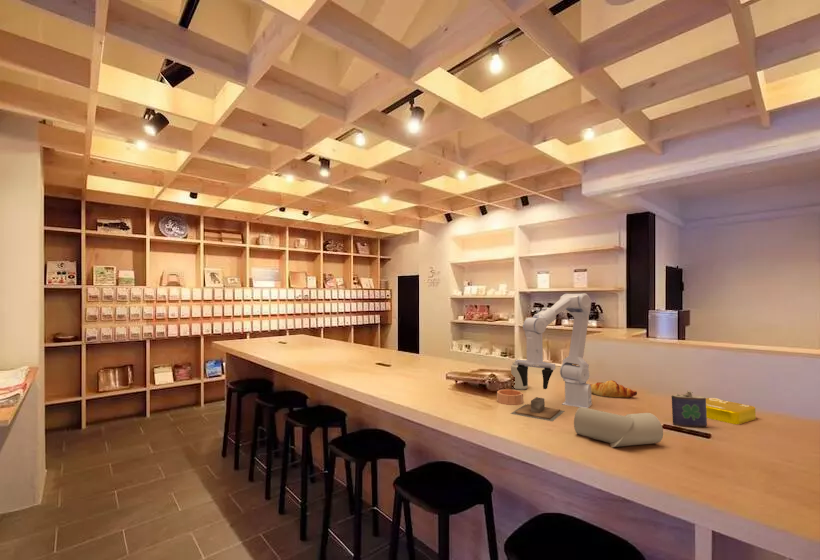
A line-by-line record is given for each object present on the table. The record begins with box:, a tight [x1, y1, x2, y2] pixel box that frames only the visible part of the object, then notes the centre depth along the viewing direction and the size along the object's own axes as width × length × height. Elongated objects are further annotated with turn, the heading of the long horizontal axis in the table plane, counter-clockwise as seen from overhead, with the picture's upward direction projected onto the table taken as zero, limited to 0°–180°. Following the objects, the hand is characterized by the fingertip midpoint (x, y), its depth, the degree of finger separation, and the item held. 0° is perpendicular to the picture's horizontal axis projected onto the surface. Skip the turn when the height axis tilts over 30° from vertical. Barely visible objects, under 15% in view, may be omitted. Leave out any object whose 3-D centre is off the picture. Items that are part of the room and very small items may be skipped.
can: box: [510, 361, 529, 391], centre depth 182 cm, size 8×8×12 cm
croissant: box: [589, 379, 638, 399], centre depth 169 cm, size 21×10×8 cm, turn 56°
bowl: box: [496, 389, 524, 406], centre depth 157 cm, size 10×10×4 cm
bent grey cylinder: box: [573, 407, 664, 448], centre depth 116 cm, size 18×11×20 cm
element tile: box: [705, 397, 757, 425], centre depth 139 cm, size 15×15×5 cm
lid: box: [514, 396, 561, 420], centre depth 142 cm, size 12×12×5 cm
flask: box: [671, 390, 708, 429], centre depth 128 cm, size 10×3×12 cm, turn 78°
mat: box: [510, 403, 565, 422], centre depth 142 cm, size 15×15×1 cm
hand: (535, 387), depth 143 cm, fingers open, 7 cm apart
